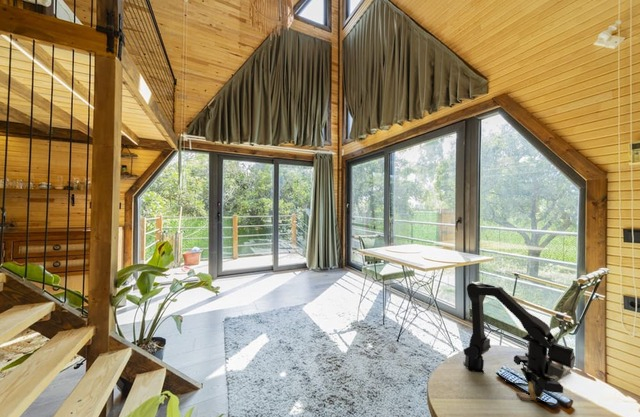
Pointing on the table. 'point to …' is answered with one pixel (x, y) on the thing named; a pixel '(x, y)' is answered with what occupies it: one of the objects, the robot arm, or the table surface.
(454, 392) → the table surface
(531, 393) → the stub
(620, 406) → the table surface
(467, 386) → the table surface
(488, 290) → the robot arm
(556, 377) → the packaged product
